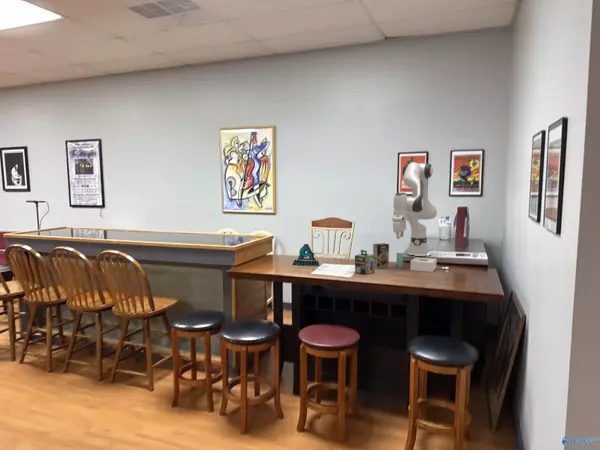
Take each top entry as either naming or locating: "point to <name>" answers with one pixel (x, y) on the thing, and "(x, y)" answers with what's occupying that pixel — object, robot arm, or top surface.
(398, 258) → the pin
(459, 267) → the top surface
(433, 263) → the hole block
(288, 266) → the top surface
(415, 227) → the robot arm
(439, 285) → the top surface
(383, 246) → the coffee box
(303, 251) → the decorative sign
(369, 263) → the chalk box
